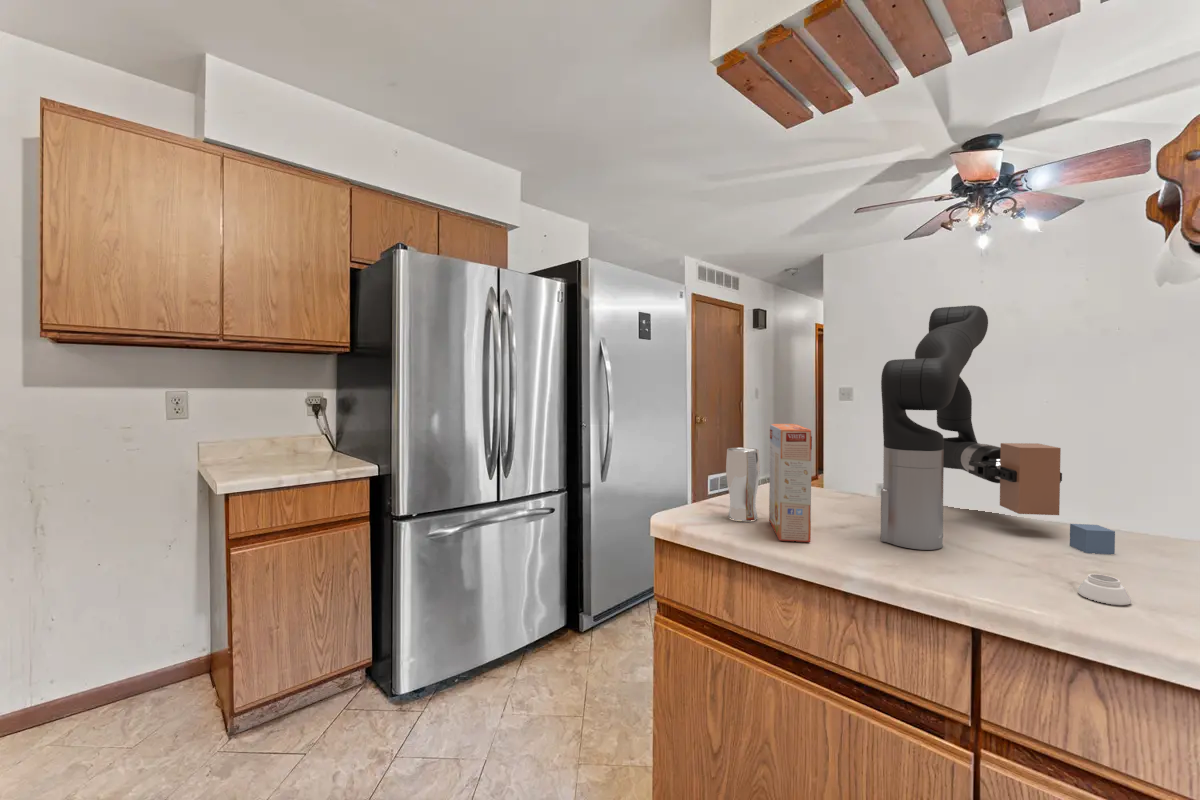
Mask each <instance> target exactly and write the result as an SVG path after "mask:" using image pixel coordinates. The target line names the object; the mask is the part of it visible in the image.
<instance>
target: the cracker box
mask: <svg viewBox="0 0 1200 800" xmlns="http://www.w3.org/2000/svg"><path fill="white" fill-rule="evenodd" d="M812 444H813V430H812V429H810V428H808V427H805V426H802V425H799V424H798V423H797V424H796V423H771V424H769V500H768V501H769V506H768V507H769V508H768V510H769V511H768V513H769V514H768V521H770V522H769V523H771V524H770V526H771V527H772V530H773V531H774V534H776V537H777V539H778V540H779V541H781V542H782V541H783V542H794V541H796V542H798V543H811V535H812V534H811V530H812V529H811V528H812V526H811V525H812V521H811V520H812V460H813V459H812V454H813V453H812V452H813V451H812V448H813V445H812Z"/></svg>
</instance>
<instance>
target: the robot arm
mask: <svg viewBox="0 0 1200 800" xmlns="http://www.w3.org/2000/svg"><path fill="white" fill-rule="evenodd" d="M928 320H929V321H928V333H927V334H926V335H924V336H923V337H922V339H921V340H920V341H919V343H918V344H917V346H916V348H915V351H914V358H904V359H902V358H900V359H891V360H888V361H887V362H886V363H885V364H884V366H883V368H882V371H881V380H880V384H881V385H880V388H881V389H880V390H881V391H880V392H881V405H882V407H881V408H882V433H883V473H882V474H883V475H882V476H883V479H882V480H883V483H882V484H883V485H882V486H883V487H882V488H881V491H880V542H884V543H888V544H892V545H894V546H896V547H897V546H898V547H902V548H906V549H913V550H923V551H929V550H930V551H931V550H939V549H941V548H943V547H944V542H943V541H944V540H943V539H944V470H945V469H950V470H951V469H953V470H962V471H965V472H967V473H968V474H970V475H973V476H975V477H978V478H980V479H983V480H986V481H988V482H991V483H994V484H1000V479H1004V480H1007V481H1010V482H1016V481H1017V472H1016V471H1015V470H1012V469H1009V468H1005V467H1003V466H1001V465H1000V450H1001V446H996V445H992V444H986V443H979V442H978V440H977V437H976V435H975V431H974V426H973V422H972V409H973V407H972V404H973V402H972V401H973V400H972V394H971V391H970V389H969V387H968V386H967V384H966V383H965V381H964V380H963V379H962V377H961V376H960V374H962V371H963V369H964V368H965V366H966V365H967V364H968V362H969V361H970V358H971V356H972V354H973V352H974V350H975V349H976V348H977V347H978V346H979V345H980V344H981V343H982V342H983V341H984V339H985V337H986V335H987V332H988V329H989V328H988V327H989V317H988V314H987V312H986V311H985V309H984V308H983V307H981V306H978V305H960V306H959V305H958V306H944V307H943V306H942V307H939V308H938V307H936V308H934V309H933V310H932V311H931V313H930V316H929V319H928ZM907 411H936V424H937V427H938V428H940V429H942V430H944V431H949V432H955V433H956V432H957V435H958V436H955V437H954V436H953V437H944V435H943V434H942V433H941V432H939V431H937V430H934V429H932V428H929V427H926V426H923V425H920V424H918V423H917V422H915V421H914V420H912V419H911V418H910V417H909V416H908V415H907ZM1062 481H1063V473H1062V472H1061V471H1060V484H1061V482H1062Z"/></svg>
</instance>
